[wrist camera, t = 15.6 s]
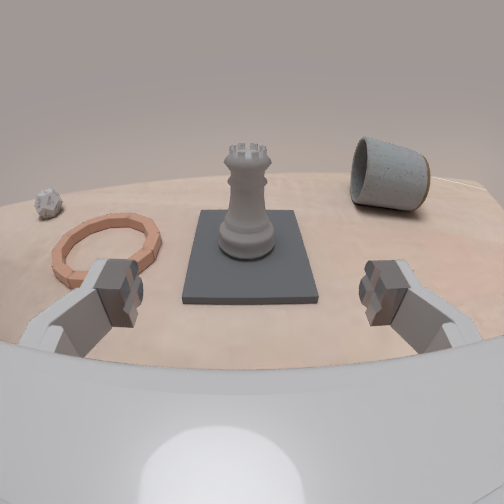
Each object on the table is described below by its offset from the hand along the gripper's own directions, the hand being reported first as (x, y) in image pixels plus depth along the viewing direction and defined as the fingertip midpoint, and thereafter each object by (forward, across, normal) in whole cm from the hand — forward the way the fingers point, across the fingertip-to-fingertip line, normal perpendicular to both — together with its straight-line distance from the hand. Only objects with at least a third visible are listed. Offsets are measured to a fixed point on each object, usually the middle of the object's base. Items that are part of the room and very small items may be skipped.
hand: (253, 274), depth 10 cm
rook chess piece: (+12, 0, +7) cm, 14 cm away
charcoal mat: (+12, 0, +8) cm, 14 cm away
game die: (+20, +23, +8) cm, 32 cm away
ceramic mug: (+23, -16, +8) cm, 29 cm away
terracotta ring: (+12, +12, +8) cm, 19 cm away
